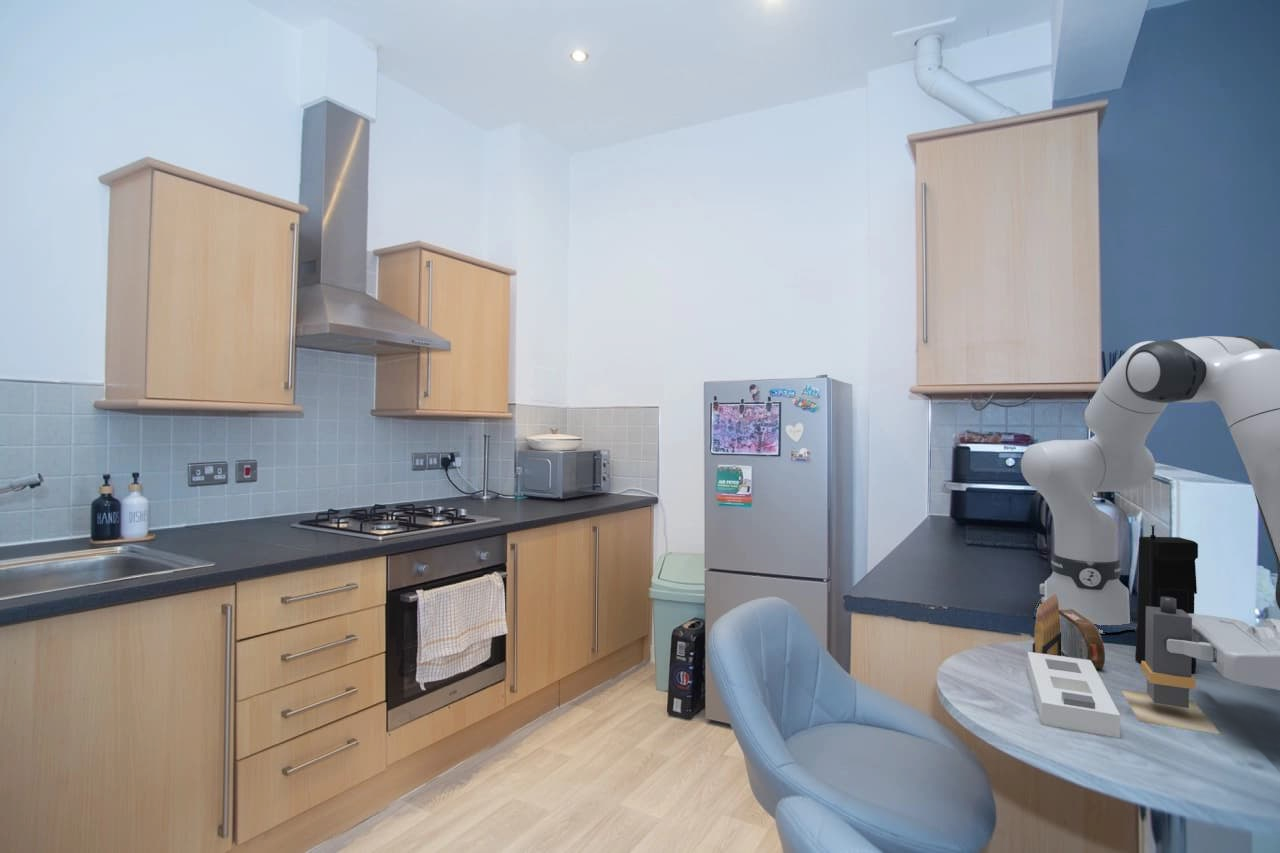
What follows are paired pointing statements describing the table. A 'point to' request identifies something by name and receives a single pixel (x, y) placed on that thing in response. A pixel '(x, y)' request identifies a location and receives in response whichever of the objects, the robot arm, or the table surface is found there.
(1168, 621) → the plug
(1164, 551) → the portable radio
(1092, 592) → the robot arm
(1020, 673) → the table surface
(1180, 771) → the table surface
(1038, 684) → the power strip
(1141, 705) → the oak board
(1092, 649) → the tin
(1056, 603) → the ammunition clip
